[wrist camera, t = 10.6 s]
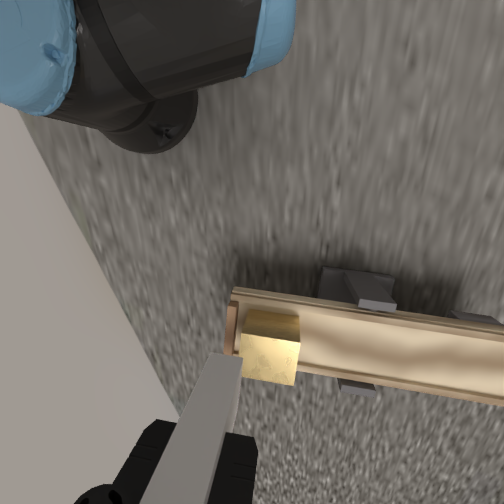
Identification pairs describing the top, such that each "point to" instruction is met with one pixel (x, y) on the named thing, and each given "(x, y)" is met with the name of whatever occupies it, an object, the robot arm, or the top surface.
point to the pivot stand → (365, 296)
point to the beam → (386, 345)
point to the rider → (270, 346)
